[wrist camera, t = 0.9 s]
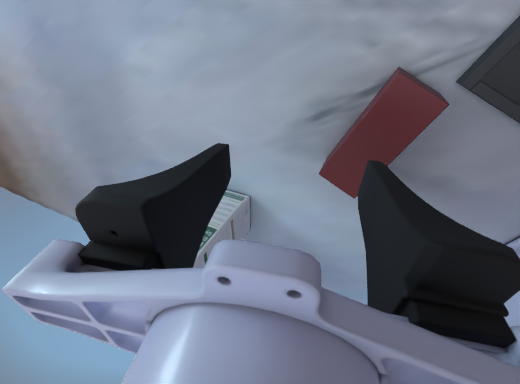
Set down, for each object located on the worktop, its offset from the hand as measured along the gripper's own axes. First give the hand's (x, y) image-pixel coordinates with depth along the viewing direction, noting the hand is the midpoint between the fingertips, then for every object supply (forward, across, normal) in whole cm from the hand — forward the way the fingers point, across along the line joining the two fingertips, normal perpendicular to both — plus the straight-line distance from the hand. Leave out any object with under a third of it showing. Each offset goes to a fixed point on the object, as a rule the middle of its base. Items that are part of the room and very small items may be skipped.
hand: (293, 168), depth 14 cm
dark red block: (+12, -7, +3) cm, 14 cm away
